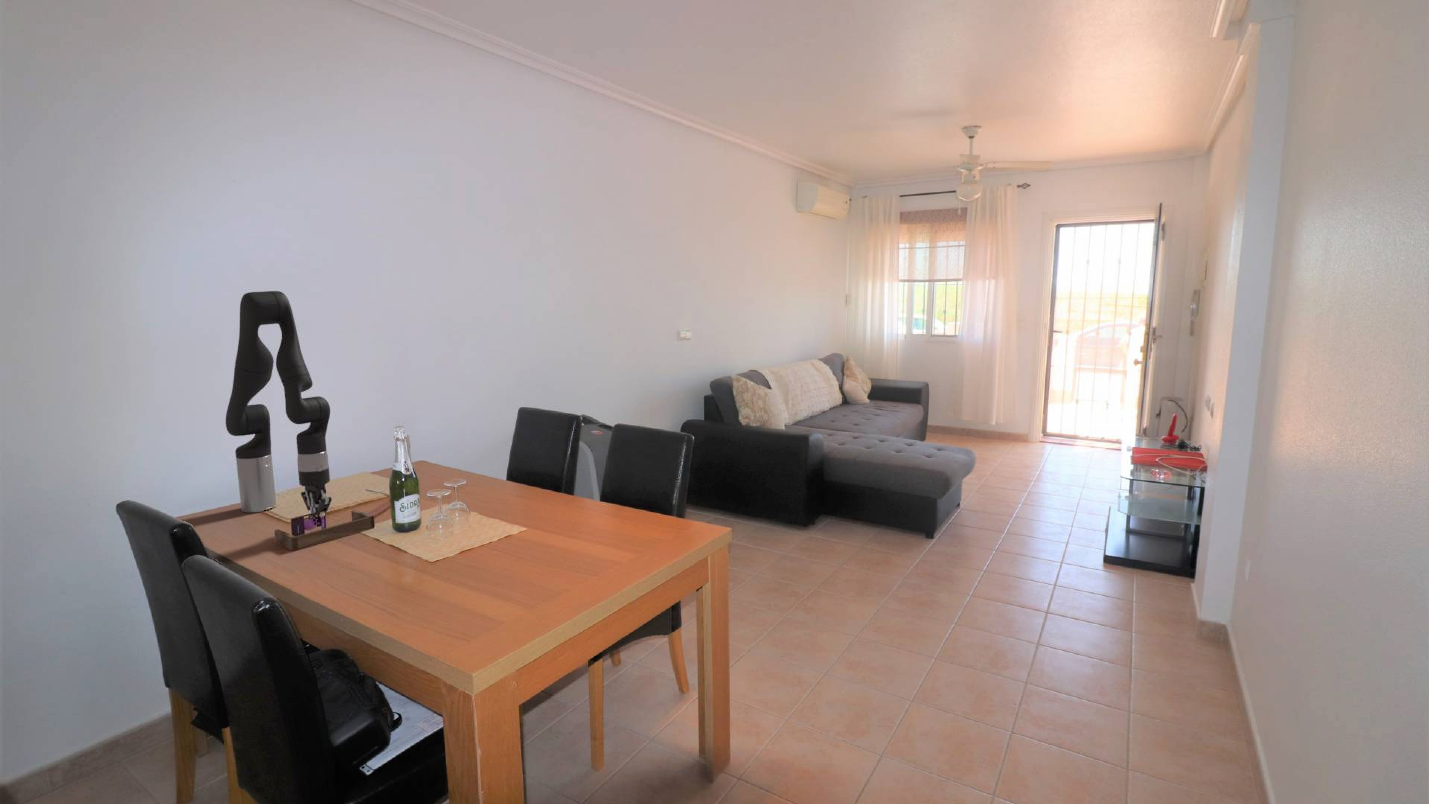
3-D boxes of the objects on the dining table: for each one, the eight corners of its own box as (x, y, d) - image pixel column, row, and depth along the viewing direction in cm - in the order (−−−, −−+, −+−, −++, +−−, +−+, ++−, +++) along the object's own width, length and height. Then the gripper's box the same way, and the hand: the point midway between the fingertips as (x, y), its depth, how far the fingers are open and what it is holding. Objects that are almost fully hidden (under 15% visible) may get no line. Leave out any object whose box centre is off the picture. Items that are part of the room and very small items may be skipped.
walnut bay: (275, 542, 183) (274, 530, 183) (355, 520, 201) (354, 509, 201) (294, 550, 178) (293, 538, 177) (374, 527, 196) (373, 516, 195)
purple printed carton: (292, 519, 182) (326, 511, 189) (283, 514, 185) (317, 506, 192) (294, 542, 183) (327, 533, 191) (284, 537, 186) (318, 528, 193)
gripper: (287, 466, 190) (293, 525, 192) (311, 473, 182) (316, 534, 185) (315, 461, 196) (320, 518, 198) (339, 468, 189) (344, 526, 191)
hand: (318, 525), depth 192 cm, fingers closed
